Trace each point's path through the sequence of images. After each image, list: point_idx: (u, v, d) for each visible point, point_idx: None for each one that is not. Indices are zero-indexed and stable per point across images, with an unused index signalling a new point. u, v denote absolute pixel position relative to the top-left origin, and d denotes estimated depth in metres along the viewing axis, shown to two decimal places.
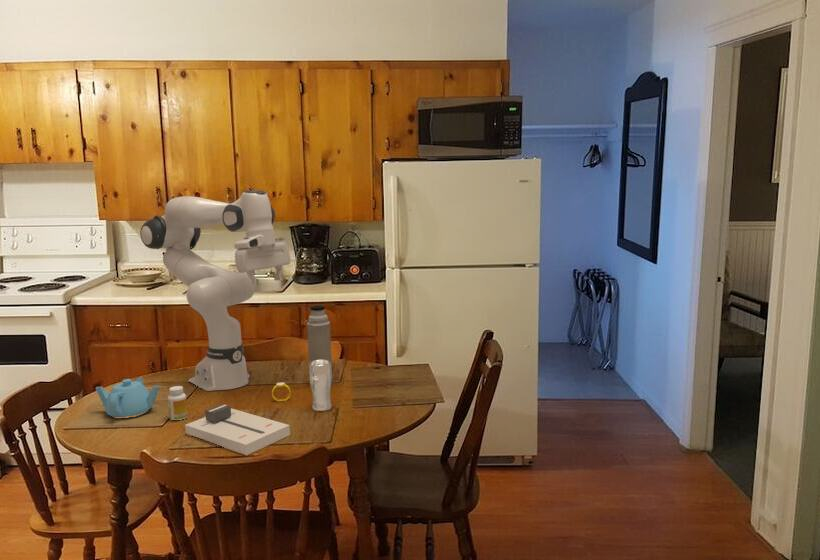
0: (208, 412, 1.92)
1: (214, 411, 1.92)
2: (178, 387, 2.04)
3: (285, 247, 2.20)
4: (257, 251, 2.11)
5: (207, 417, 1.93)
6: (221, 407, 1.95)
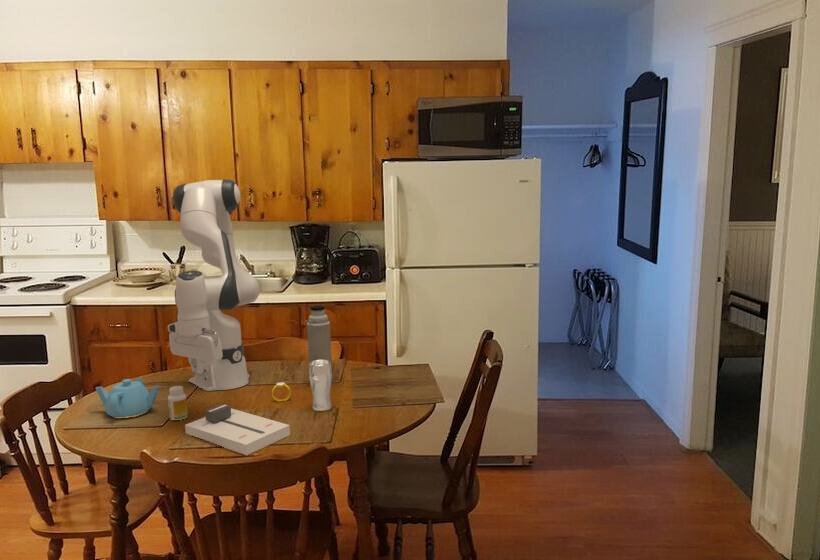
0: (208, 412, 1.92)
1: (214, 411, 1.92)
2: (178, 387, 2.04)
3: (207, 342, 1.89)
4: (180, 337, 1.96)
5: (207, 417, 1.93)
6: (221, 407, 1.95)
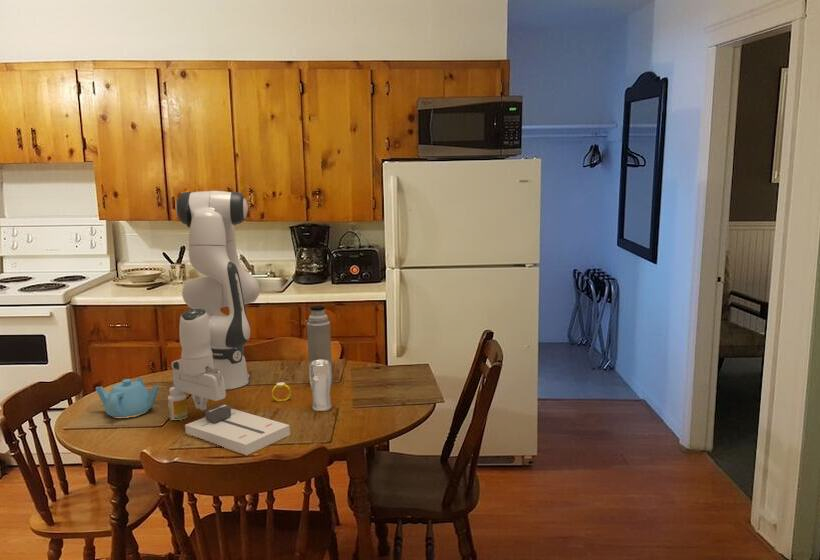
0: (208, 412, 1.92)
1: (214, 411, 1.92)
2: None
3: (211, 381, 1.91)
4: (184, 375, 1.98)
5: (207, 417, 1.93)
6: (221, 407, 1.95)
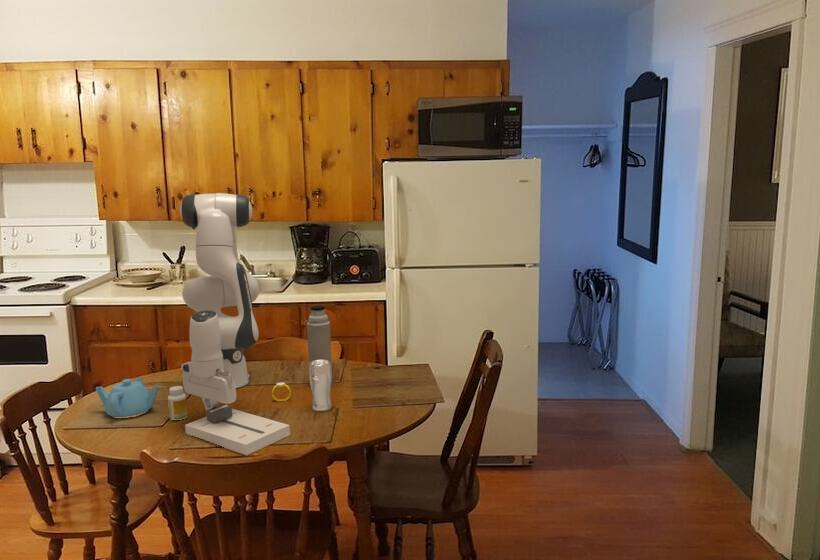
0: (209, 412, 1.92)
1: (215, 411, 1.92)
2: (178, 387, 2.04)
3: (222, 384, 1.88)
4: (194, 377, 1.95)
5: (208, 417, 1.93)
6: (222, 407, 1.95)
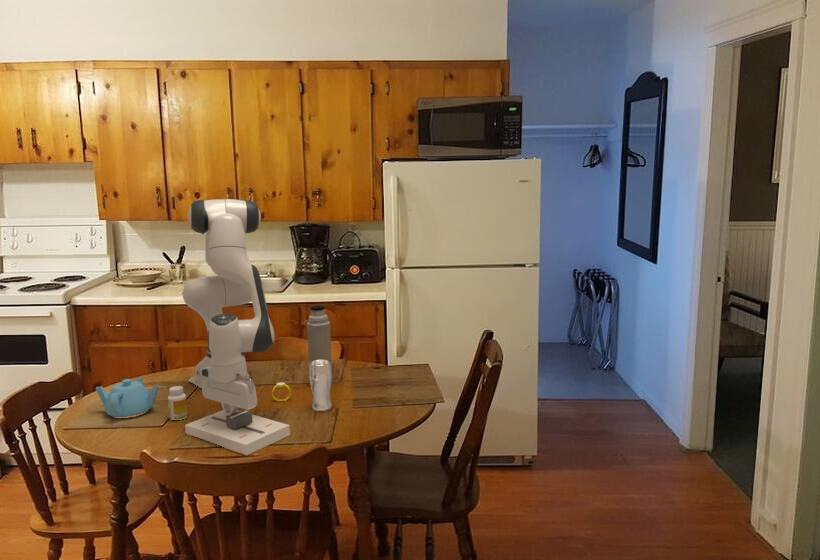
0: (229, 418, 1.87)
1: (235, 417, 1.87)
2: (178, 387, 2.04)
3: (242, 390, 1.83)
4: (213, 382, 1.90)
5: (228, 423, 1.88)
6: (242, 413, 1.90)
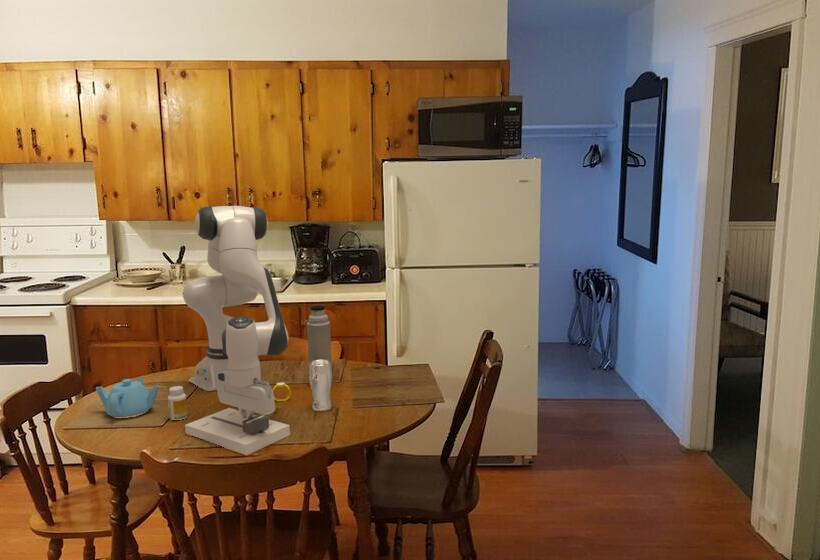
0: (246, 423, 1.83)
1: (252, 422, 1.83)
2: (178, 387, 2.04)
3: (260, 394, 1.79)
4: (230, 386, 1.86)
5: (244, 429, 1.84)
6: (259, 418, 1.86)
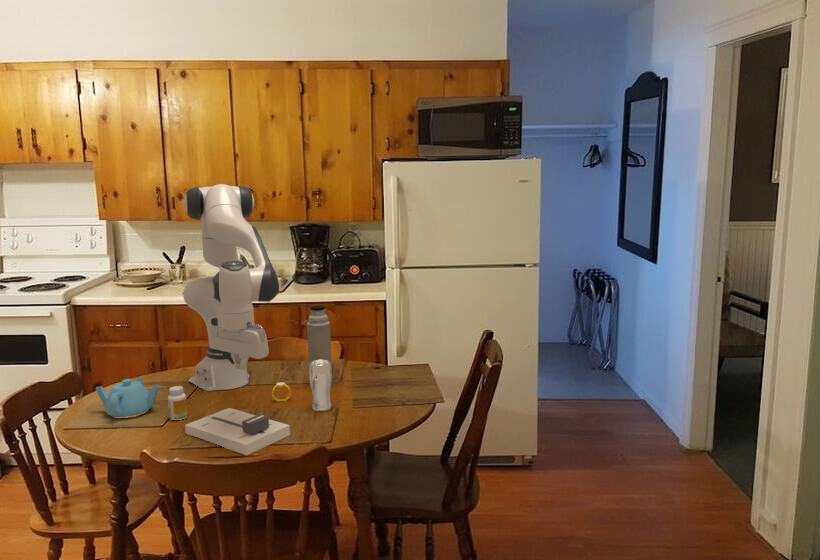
0: (245, 423, 1.83)
1: (252, 422, 1.83)
2: (178, 387, 2.04)
3: (253, 338, 1.77)
4: (223, 331, 1.84)
5: (244, 428, 1.84)
6: (259, 418, 1.86)
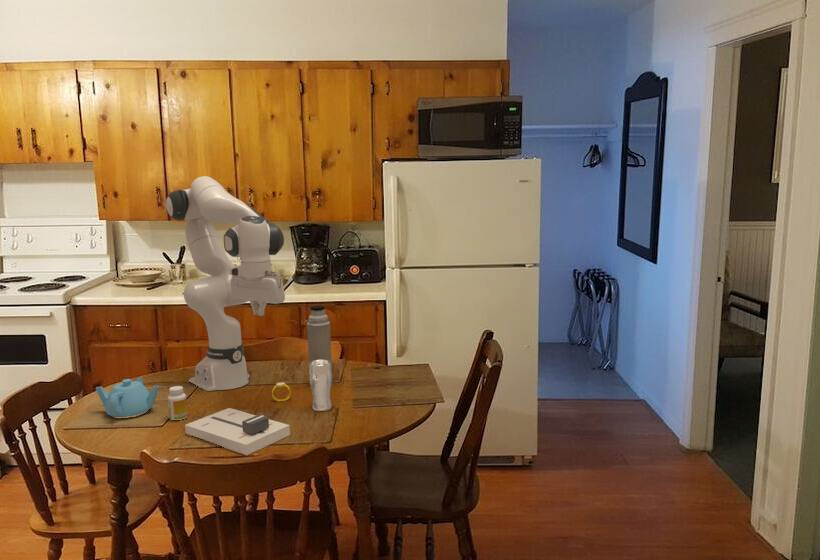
0: (245, 423, 1.83)
1: (252, 422, 1.83)
2: (178, 387, 2.04)
3: (271, 284, 1.95)
4: (243, 281, 2.02)
5: (244, 428, 1.84)
6: (259, 418, 1.86)
